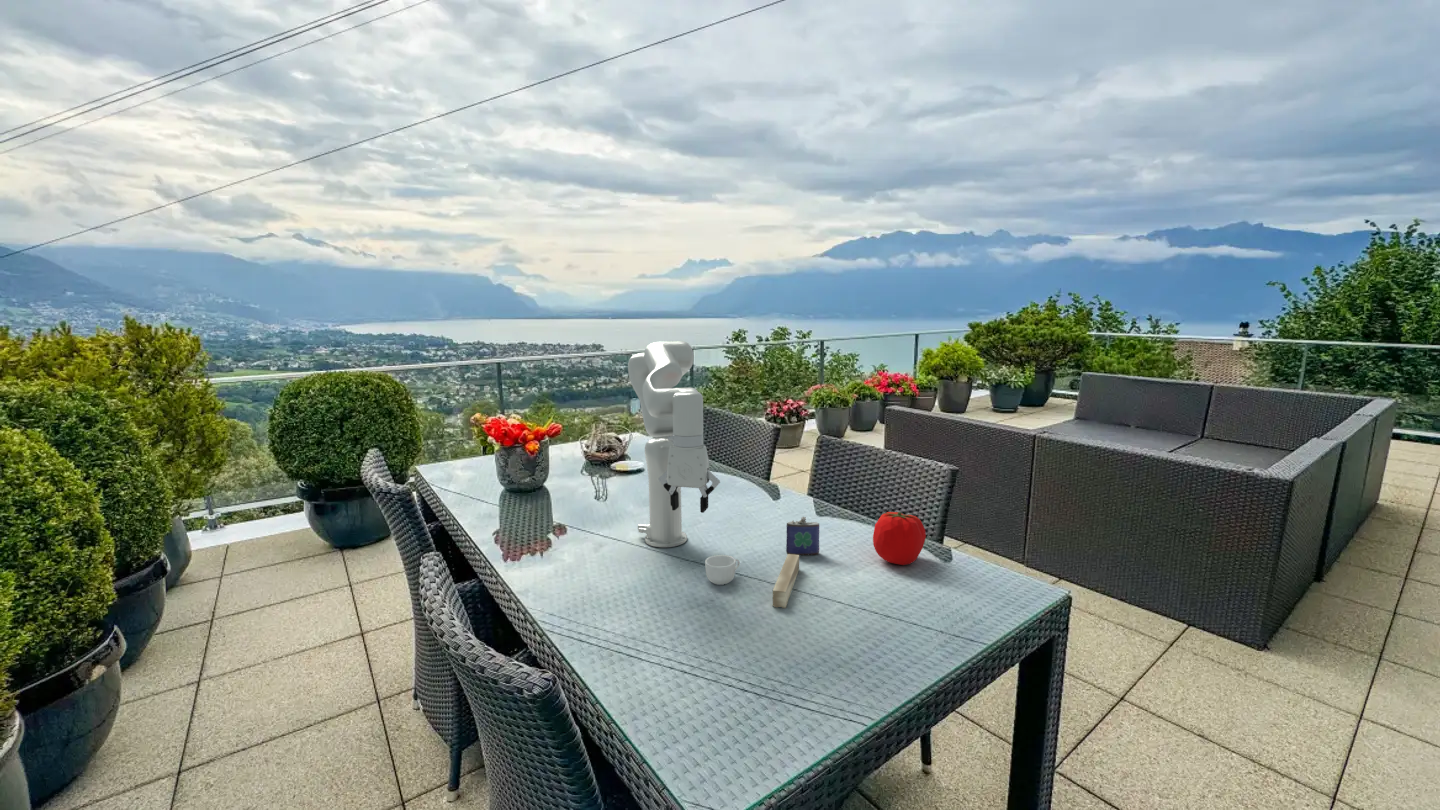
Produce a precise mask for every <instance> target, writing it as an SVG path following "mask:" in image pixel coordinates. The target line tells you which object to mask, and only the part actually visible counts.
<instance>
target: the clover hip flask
mask: <svg viewBox="0 0 1440 810" xmlns="http://www.w3.org/2000/svg"><path fill="white" fill-rule="evenodd" d="M806 517H807V516H802V517H801V519H800V520H799V521H798V520H792V521H787V522H786V544H785V545H786V546H785V547H786V548H785V549H786V550H785V551H786V554H787V555H788V554H795V555H801V556H816V555H818V556H819V554H820V523H819V522H817V521H811V522H810V521H808V522H807V521H806V520H807V519H806Z"/></svg>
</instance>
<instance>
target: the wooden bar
mask: <svg viewBox="0 0 1440 810" xmlns="http://www.w3.org/2000/svg"><path fill="white" fill-rule="evenodd" d="M799 571H800V556H799V555H795V554H787V555H786V557H785V559H784V562H783V565H782V566H781V569H780V572H779V573H778V576H777V578H776V582H775V583H774V586H773V588H772V607H773V606H774V607H773V608H778V607H782V608H781V609H787V606H788V603H789V599H790V597H791V594H792V592H791V591H793V588H794V585H795V582H796V579H797V576H798V574H799Z"/></svg>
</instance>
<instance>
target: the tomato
mask: <svg viewBox="0 0 1440 810" xmlns="http://www.w3.org/2000/svg"><path fill="white" fill-rule="evenodd" d="M926 537H927V536H926V529H925V526H924V524H923V522H922V520H921V519H920V518H919V517H917V516H916V515H912V514H903V513H902V512H901V511H899V512H898V511H897V512H896V511H887V512H883V513H882V514H881V515H880V517H879V518H878V520H877V521H876V523H875V524H874V529H873V534H872V544H873V548H874V550H875V552H876V554H878V556H879V557H880V558H881V559H883V560H884V561H885V562H888V563H889V564H895V565H899V566H906V565H911V564H912V563H914V562H915V561H916V560H917V559H918V557H919V555H920V553H921V552H922V549H923V548H924V544H925V541H926Z"/></svg>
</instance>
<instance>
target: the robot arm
mask: <svg viewBox="0 0 1440 810" xmlns="http://www.w3.org/2000/svg"><path fill="white" fill-rule="evenodd" d="M694 360H695V355H694V351H693V348H692V346H691V345H690V344H689V343H688V342H686V341H683V340H679V341H677V340H675V341H674V340H672V341H671V340H667V341H665V340H664V341H663V340H662V341H654V342H651V343H649V344H648V345H646V347H645V349H644V351H643V352H639V353H636V354H634V355H632V356H631V357H630V358H629V360H628V362H627V363H628V364H627V371H628V377H629V381H630V383H631V386H632V388H633V390H634V392H635V394H636V396H637V398H638V400H639V403H640V404H639V405H640V409H641V414H642V420H643V425H644V429H645V431H646V433H647V435H648V436H650V437H652V438H651V439H649V440H647V442H646V443H645V446H644V457H645V462H646V468H647V476H648V477H647V479H648V503H649V504H648V506H649V508H648V509H649V524H645V523H639V524H637V531H638V533H640V534H641V533H645V534H646V535H645V536H644V542H645V544H647V545H648V546H651V547H654V548H655V547H656V548H664V549H665V548H673V547H677V546H681V545H683V544H684V543H686V542H687V540H688V535H687V533H685V532H684V531H683V529H682V528H683V526H682V525H683V524H682V521H683V520H682V488H688V489H689V488H690V489H691V488H692V489H698V490H699V492H700V494H701V497H699V505H700V506H699V507H700V508H699V509H700V510H699V511H700V513H705V512H706V510H707V509H708V508H709V495H710V494H712V492H713V491H714V490H715V489H716V488H718V486H719V485H720V483H721V480H720V479H718V477H716V476H715V474H714V473H712V472H711V471H710V461H709V460H710V459H709V456H708V455H709V454H708V450H707V446H706V445H704V398H703V395H702V393H701V392H699V391H698V389H696V388H694V387H676V386H677V385H678V384H679V383H680V381H681V380H682V377H683V376H684V375H685V374H687V373H688V372H689V370H691V368H692V367H693V364H694ZM710 481H711V485H710V486H709V487H708V484H709V482H710Z"/></svg>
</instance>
